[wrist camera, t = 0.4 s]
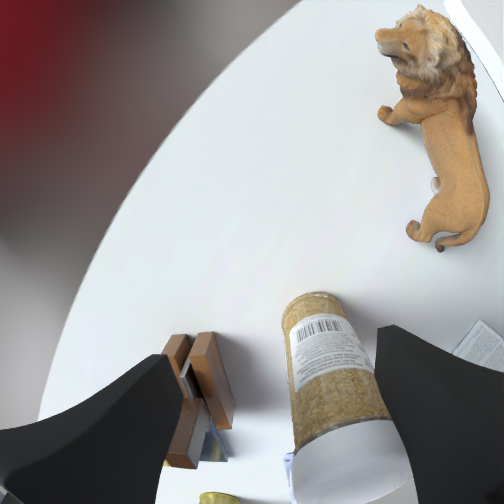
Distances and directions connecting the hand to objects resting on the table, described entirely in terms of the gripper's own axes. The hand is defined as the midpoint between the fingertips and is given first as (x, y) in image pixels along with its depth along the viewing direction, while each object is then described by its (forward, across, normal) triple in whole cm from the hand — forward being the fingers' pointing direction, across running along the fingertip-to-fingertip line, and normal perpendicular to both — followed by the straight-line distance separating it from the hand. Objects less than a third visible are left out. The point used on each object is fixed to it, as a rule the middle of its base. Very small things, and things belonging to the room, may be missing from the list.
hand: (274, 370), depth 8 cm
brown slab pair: (+10, +6, +8) cm, 14 cm away
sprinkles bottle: (+10, -2, +4) cm, 11 cm away
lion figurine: (+10, -10, -7) cm, 16 cm away
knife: (+10, +6, +8) cm, 14 cm away
